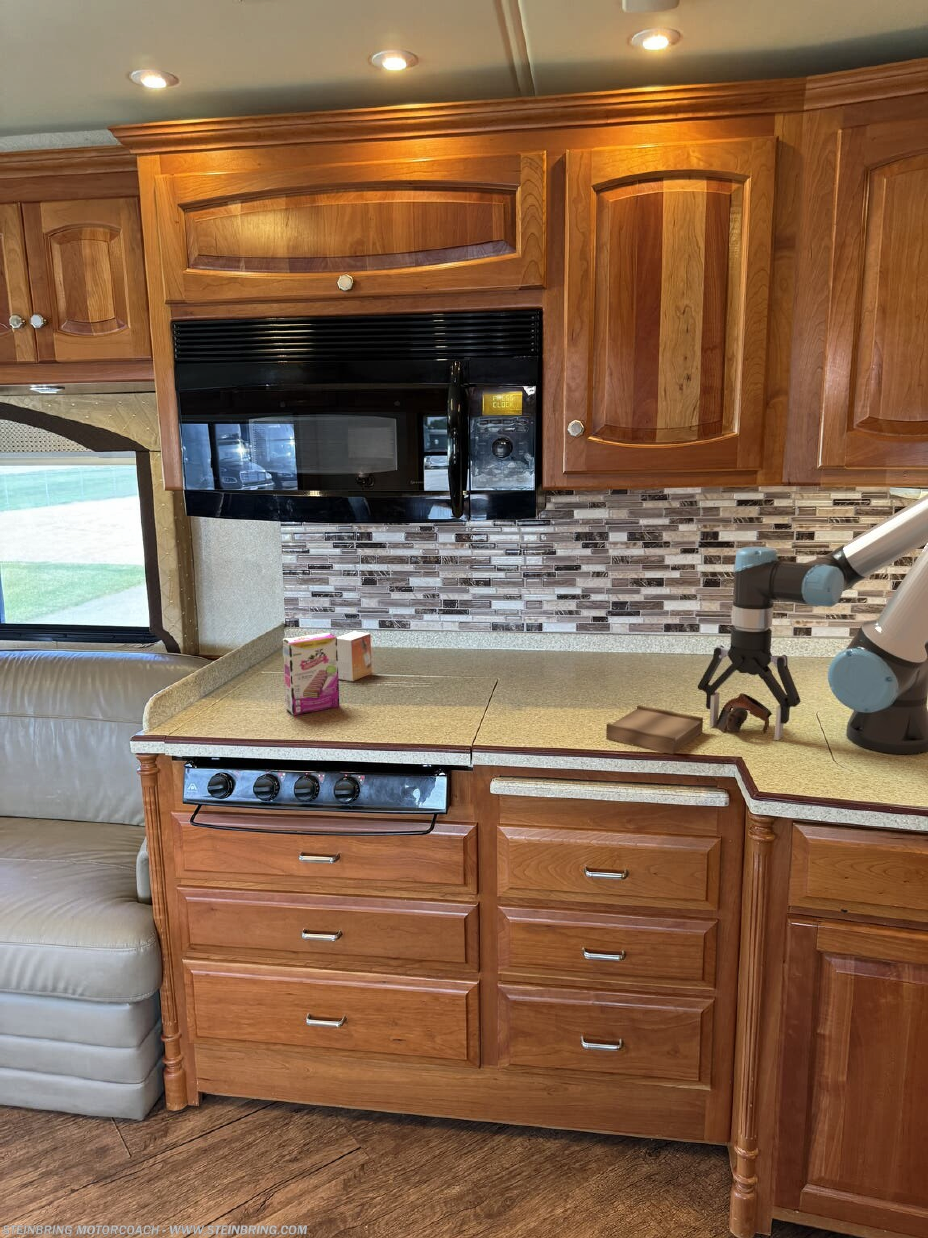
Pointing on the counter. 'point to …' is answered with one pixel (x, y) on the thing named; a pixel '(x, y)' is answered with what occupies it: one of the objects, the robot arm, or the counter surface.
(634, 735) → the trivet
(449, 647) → the counter surface
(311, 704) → the candy bar box
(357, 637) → the small box
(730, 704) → the brown hollow arched piece
